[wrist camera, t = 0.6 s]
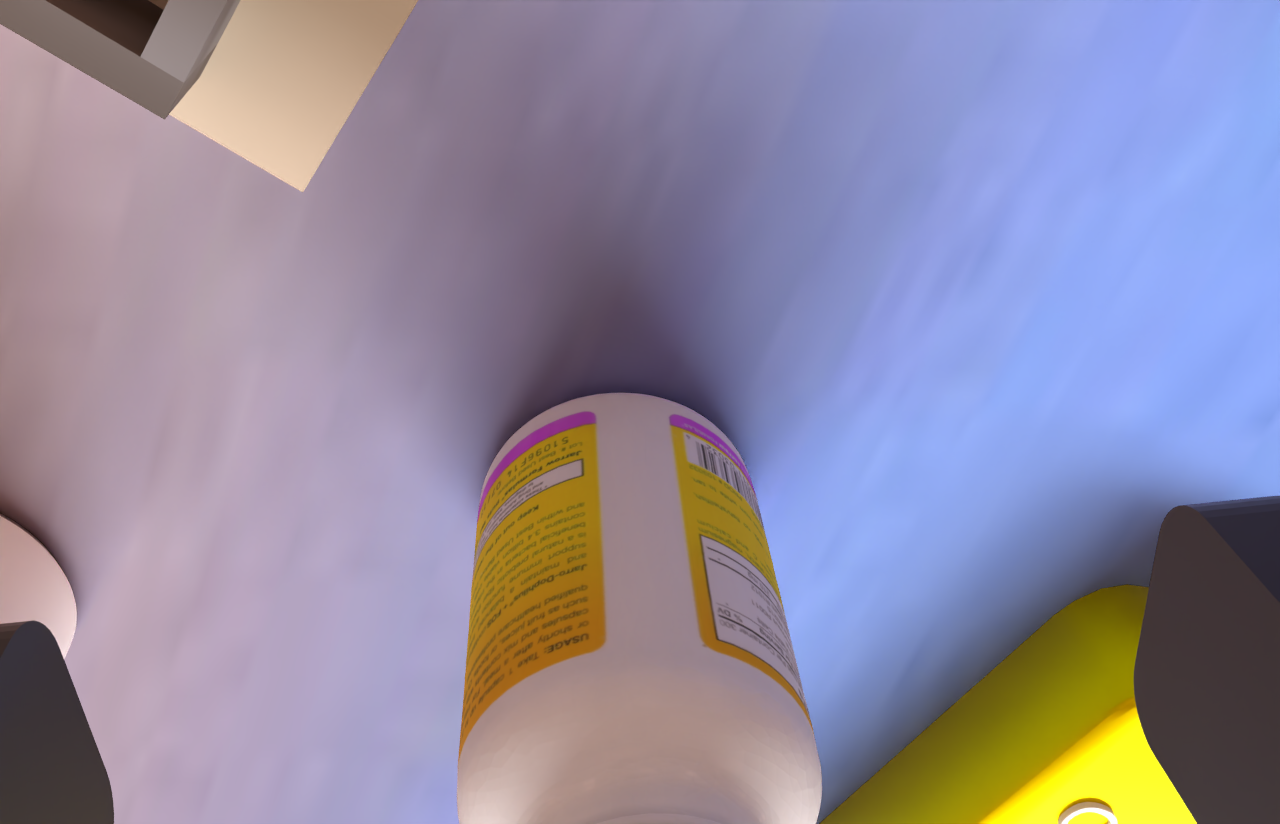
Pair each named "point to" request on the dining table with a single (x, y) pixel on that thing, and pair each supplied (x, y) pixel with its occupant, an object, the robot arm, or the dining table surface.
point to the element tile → (1037, 737)
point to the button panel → (228, 64)
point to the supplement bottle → (629, 631)
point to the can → (34, 585)
